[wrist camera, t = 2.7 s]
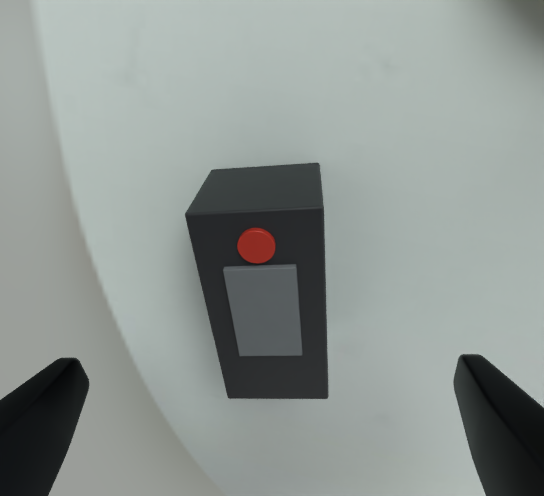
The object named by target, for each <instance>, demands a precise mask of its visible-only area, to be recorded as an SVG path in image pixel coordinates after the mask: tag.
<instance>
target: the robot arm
mask: <svg viewBox="0 0 544 496" xmlns="http://www.w3.org/2000/svg"><path fill="white" fill-rule="evenodd" d="M88 389H89V379H88V377H87V375H86V373H85V371H84V369H83V367H82V365H81V363H80V361H79V360H78V359H77V358H60V359H57V360H56V361H54V362H53V363H52V364H50V365H49V366H47V367H46V368H45V369H43V370H42V371H40V372H39V373H38V374H36V375H35V376H34V377H32V378H31V379H29V380H28V381H26V382H25V383H24V384H22V385H21V386H19V387H18V388H17V389H15V390H14V391H13V392H11V393H9V394H8V395H7V396H5V397H4V398H2V399H1V400H0V496H48V495H49V492H50V490H51V488H52V485H53V483H54V481H55V479H56V477H57V474H58V472H59V469H60V468H61V465H62V463H63V461H64V458H65V456H66V454H67V451H68V448H69V445H70V443H71V440H72V437H73V434H74V431H75V428H76V425H77V422H78V419H79V417H80V413H81V411H82V408H83V405H84V402H85V399H86V396H87V393H88ZM454 390H455V394H456V398H457V402H458V406H459V409H460V413H461V417H462V421H463V425H464V429H465V433H466V436H467V440H468V444H469V448H470V451H471V455H472V459H473V461H474V464H475V467H476V470H477V473H478V475H479V478H480V481H481V483H482V486H483V489H484V491H485V494H486V496H544V408H543V407H542V406H541V405H540V404H539V403H537V402H536V401H535V400H534V399H533V398H532V397H530V396H529V395H528V394H527V393H526V392H524V391H523V390H522V389H521V388H520V387H519V386H517V385H516V384H515V383H514V382H513V381H511V380H510V379H509V378H508V377H507V376H505V375H504V374H503V373H502V372H501V371H500V370H498V369H497V368H496V367H495V366H494V365H492V364H491V363H490V362H489V361H488V360H487V359H485V358H484V357H483V356H481V355H478V354H463V355H461V356H460V357H459V359H458V363H457V367H456V371H455V376H454Z"/></svg>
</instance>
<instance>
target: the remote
mask: <svg viewBox="0 0 544 496" xmlns="http://www.w3.org/2000/svg"><path fill="white" fill-rule="evenodd" d="M185 217H186V221H187V226H188V230H189V234H190V238H191V243H192V247H193V251H194V255H195V260H196V264H197V268H198V272H199V277H200V281H201V285H202V289H203V294H204V298H205V302H206V306H207V311H208V315H209V319H210V323H211V328H212V332H213V336H214V340H215V345H216V349H217V353H218V357H219V362H220V366H221V370H222V374H223V379H224V383H225V387H226V391H227V396H228V398H248V399H327V398H328V359H327V319H326V279H325V238H324V205H323V195H322V185H321V174H320V165H319V163H308V164H293V165H278V166H262V167H247V168H232V169H216V170H211V172H210V174H209V175H208V177H207V179H206V180H205V182H204V184H203V185H202V187H201V189H200V190H199V192H198V194H197V195H196V197H195V198H194V200H193V202H192V203H191V205H190V207H189V208H188V210H187V212H186V213H185Z"/></svg>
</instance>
